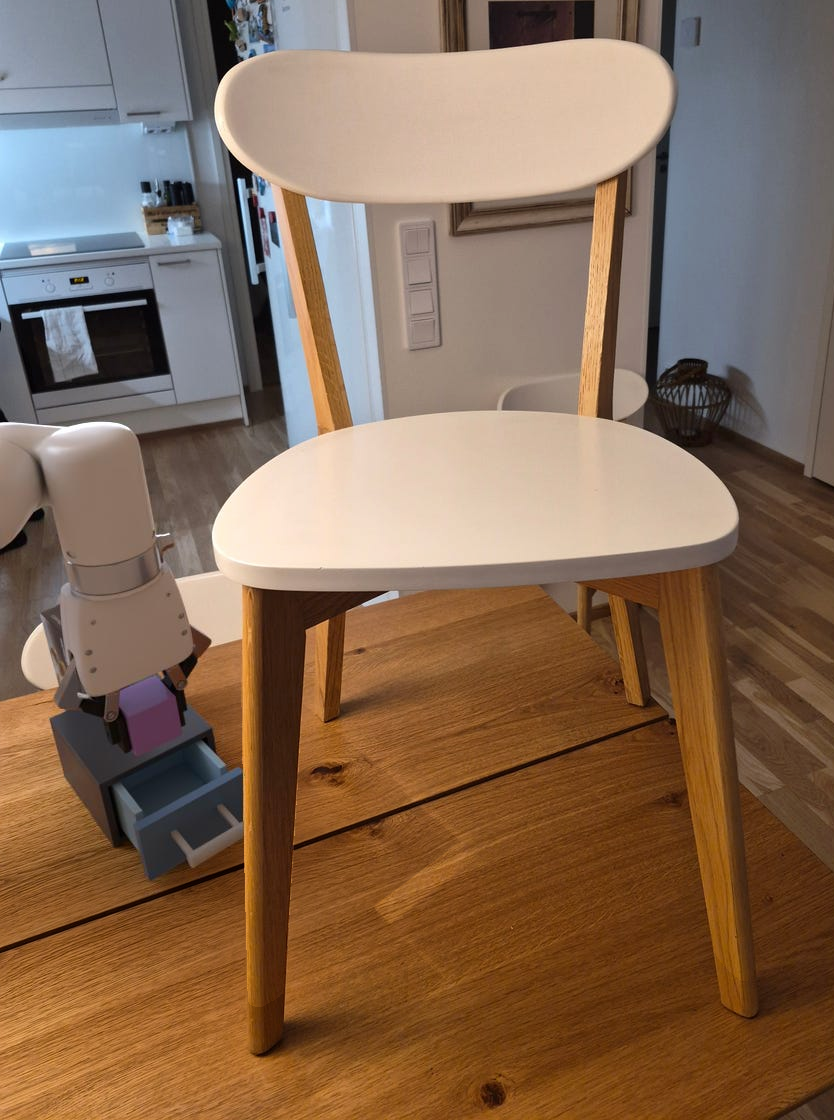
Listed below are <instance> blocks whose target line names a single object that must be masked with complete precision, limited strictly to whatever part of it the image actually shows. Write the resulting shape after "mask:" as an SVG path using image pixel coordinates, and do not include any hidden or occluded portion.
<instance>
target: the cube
mask: <svg viewBox="0 0 834 1120" xmlns="http://www.w3.org/2000/svg"><path fill="white" fill-rule="evenodd" d="M119 710H120V712H121V713H122V715H123V716H124V717H125V719H126V724H127V728H128V733H129V737H130V742H131V746H132V749H131V751H132V752H133V753H134V754H135V755H136V757H137V756H139V755H141V754H144V753H146V752H148V751H150V750H152V749H154V748H156V747H158V746H160V745H162V744H164V743H166V742H168V741H170V740H172V739H174V738H176V737H179V736H181V735H182V729H181V723H180V718H179V713H178V708H177V702H176V697H175V696H174V695H173V693H172V692H171V691H170V690H169V689H168V688H167V687H166V686H165V685H164V684H163V683H162V682H161V681H160V680H159V679H158V678H157V677H156V676H153V677H151V678H148V679H146V680H144V681H142V682H139V683H137V684H135V685H132V686H130V687H128V688H125V689H123V690H121V691H120V698H119Z"/></svg>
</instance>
